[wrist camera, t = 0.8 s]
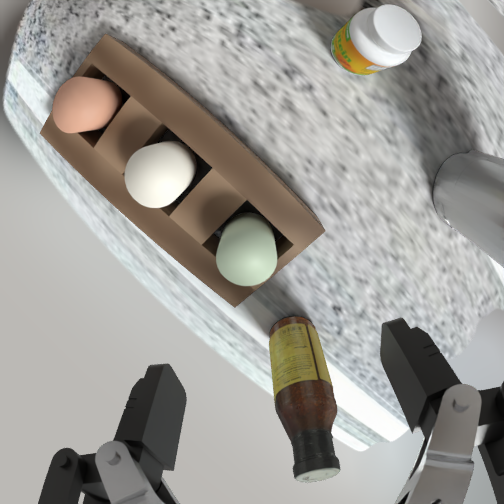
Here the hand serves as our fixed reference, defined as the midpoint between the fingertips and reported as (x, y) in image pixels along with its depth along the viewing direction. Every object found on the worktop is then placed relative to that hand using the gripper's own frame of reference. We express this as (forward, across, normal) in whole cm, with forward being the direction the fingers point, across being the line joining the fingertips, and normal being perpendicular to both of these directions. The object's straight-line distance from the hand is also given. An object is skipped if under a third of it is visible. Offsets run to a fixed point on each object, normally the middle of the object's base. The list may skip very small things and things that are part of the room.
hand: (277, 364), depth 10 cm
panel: (+21, +7, -7) cm, 23 cm away
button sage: (+19, +2, +2) cm, 19 cm away
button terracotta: (+18, +12, -15) cm, 27 cm away
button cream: (+19, +7, -7) cm, 21 cm away
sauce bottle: (+22, -1, +17) cm, 27 cm away
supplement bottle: (+20, -13, -15) cm, 28 cm away
